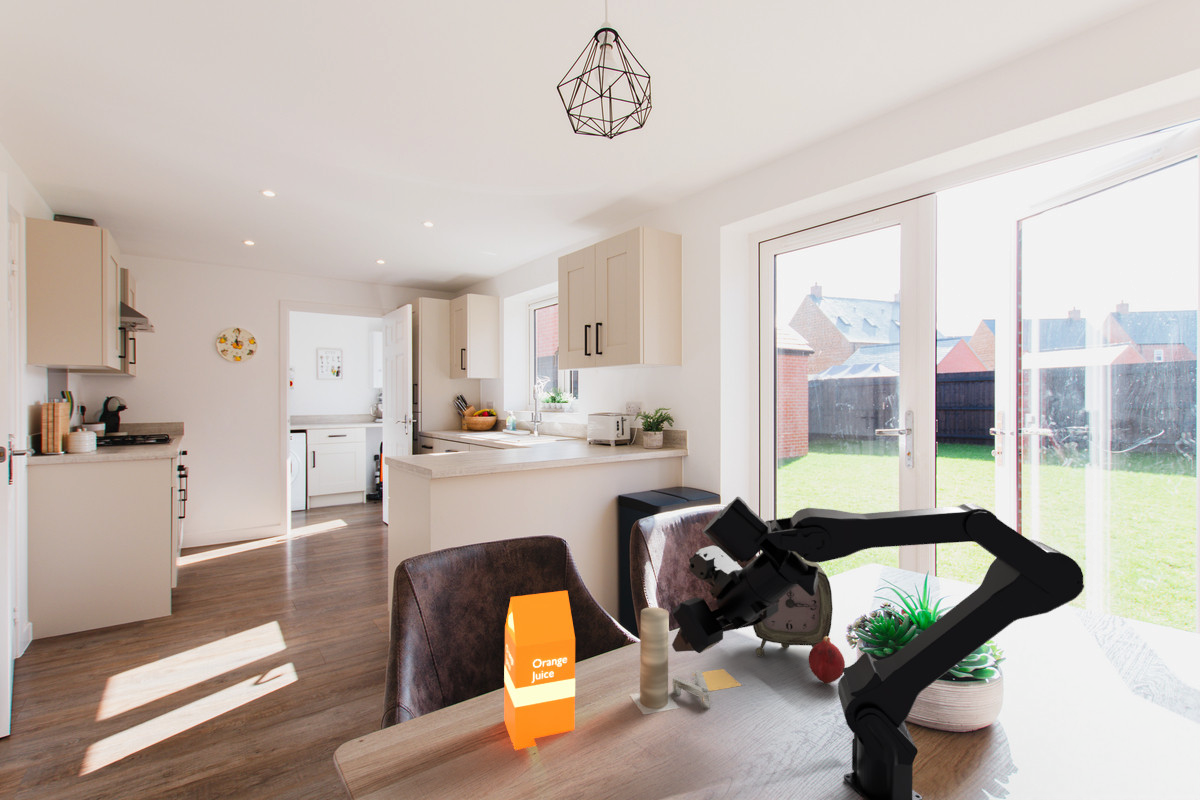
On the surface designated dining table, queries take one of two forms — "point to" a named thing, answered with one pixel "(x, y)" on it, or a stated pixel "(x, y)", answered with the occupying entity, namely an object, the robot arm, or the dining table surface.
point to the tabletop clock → (799, 616)
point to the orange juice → (539, 667)
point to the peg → (654, 657)
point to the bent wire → (694, 688)
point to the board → (713, 681)
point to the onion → (826, 661)
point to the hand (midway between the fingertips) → (694, 638)
